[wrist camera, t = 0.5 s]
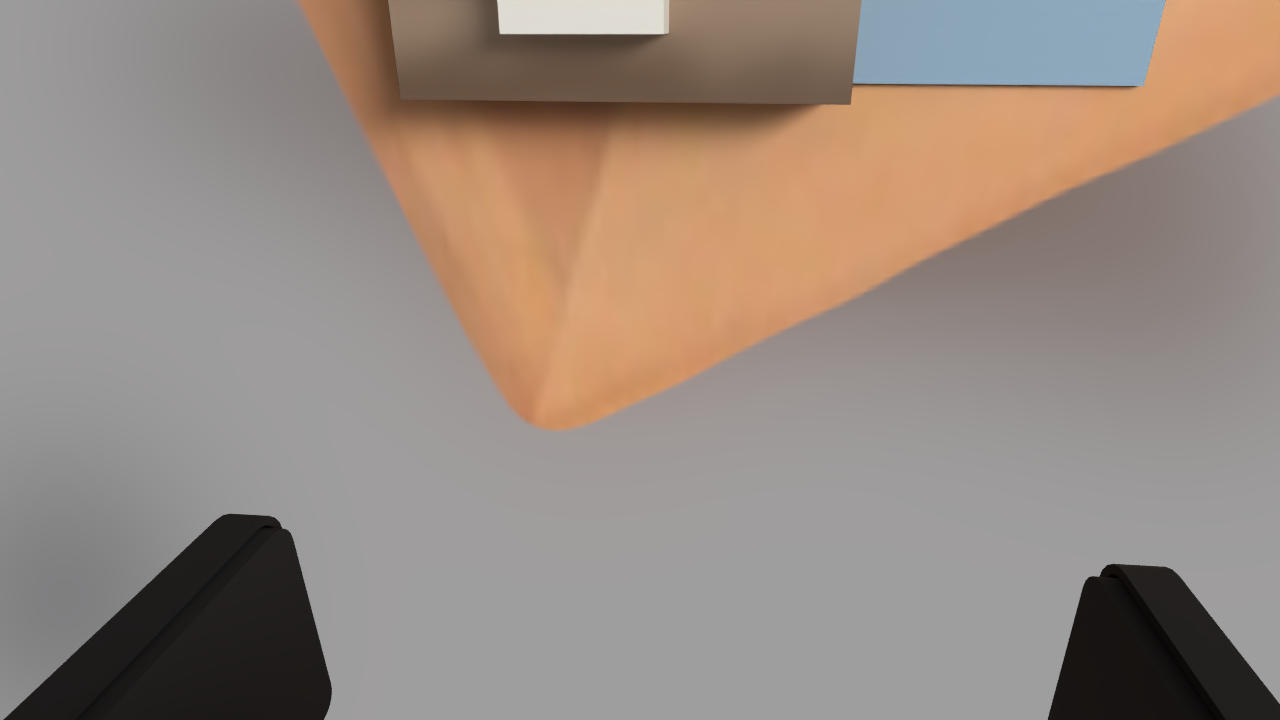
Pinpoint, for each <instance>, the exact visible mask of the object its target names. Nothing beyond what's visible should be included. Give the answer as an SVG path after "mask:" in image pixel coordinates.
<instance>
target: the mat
mask: <svg viewBox="0 0 1280 720" xmlns="http://www.w3.org/2000/svg"><path fill="white" fill-rule="evenodd" d="M1165 1H1166V0H862V2H861V11H860V20H859V30H858V39H857V48H856V57H855V67H854V76H853V83H857V84H980V85H1104V86H1144V83H1145V79H1146V75H1147V71H1148V67H1149V63H1150V59H1151V55H1152V51H1153V48H1154V44H1155V40H1156V36H1157V32H1158V28H1159V24H1160V20H1161V17H1162V13H1163V9H1164V5H1165Z"/></svg>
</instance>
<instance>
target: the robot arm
mask: <svg viewBox="0 0 1280 720" xmlns="http://www.w3.org/2000/svg"><path fill="white" fill-rule="evenodd" d="M331 695H332V688H331V682H330V678H329V675H328V671H327V667H326V663H325V659H324V655H323V652H322V648H321V644H320V640H319V636H318V632H317V629H316V625H315V621H314V617H313V614H312V609H311V606H310V602H309V598H308V594H307V590H306V587H305V583H304V580H303V575H302V571H301V567H300V564H299V560H298V556H297V552H296V548H295V545H294V541H293V538H292V535H291V533H290V532H289V531H288V530H286V529H282V527H281V525H280V522H279V521H278V520H277V519H276V518H274V517H271V516H260V515H242V514H227V515H223V516H221V517H220V518H218V519H217V520H216V521H214V522H213V523H212V524H211V525H210V526H209V527H208V528H207V529H206V530H205V531H204V532H203V533H202V534H201V535H200V536H198V538H196V539H195V540H194V541H193V542H192V543H191V544H190V545H189V546H188V547H187V548H186V549H185V550H184V551H183V552H181V553H180V554H179V555H178V556H177V557H176V558H175V559H174V560H173V561H172V562H171V563H170V564H169V565H168V566H167V567H166V568H165V569H163V570H162V571H161V572H160V573H159V574H158V575H157V576H156V577H155V578H154V579H153V580H152V581H151V582H150V583H148V584H147V585H146V586H145V587H144V588H143V589H142V590H141V591H140V592H139V593H138V594H137V595H136V596H135V597H134V598H133V599H132V600H131V601H129V602H128V603H127V604H126V605H125V606H124V607H123V608H122V609H121V610H120V611H119V612H118V613H117V614H116V615H115V616H113V617H112V618H111V619H110V620H109V621H108V622H107V623H106V624H105V625H104V626H103V627H102V628H101V629H100V630H98V631H97V632H96V633H95V634H94V635H93V636H92V637H91V638H90V639H89V640H88V641H87V642H86V643H85V644H84V645H83V646H81V647H80V648H79V649H78V650H77V651H76V652H75V653H74V654H73V655H72V656H71V657H70V658H69V659H68V660H67V661H66V662H64V663H63V665H61V666H60V667H59V668H58V669H57V670H56V671H55V672H54V673H53V674H52V675H51V676H50V677H49V678H48V679H46V680H45V681H44V682H43V683H42V684H41V685H40V686H39V687H38V688H37V689H36V690H35V691H34V692H33V693H31V695H29V696H28V697H27V698H26V699H25V700H24V701H23V702H22V703H21V704H20V705H19V706H18V707H17V708H16V709H15V710H13V711H12V712H11V713H10V714H9V715H8V716H7V717H6V718H5V719H4V720H324V718H325V716H326V714H327V712H328V709H329V706H330V701H331ZM1048 720H1280V704H1279V703H1278V702H1277V700H1276V699H1275V698H1274V696H1273V695H1272V694H1271V692H1270V691H1269V690H1268V689H1267V687H1266V686H1265V685H1264V684H1263V682H1262V681H1261V680H1260V679H1259V677H1258V676H1257V675H1256V673H1255V672H1254V671H1253V669H1252V668H1251V667H1250V666H1249V664H1248V663H1247V662H1246V661H1245V660H1244V658H1243V657H1242V656H1241V654H1240V653H1239V652H1238V651H1237V649H1236V648H1235V647H1234V645H1233V644H1232V643H1231V641H1230V640H1229V639H1228V638H1227V636H1226V635H1225V634H1224V633H1223V631H1222V630H1221V629H1220V627H1219V626H1218V625H1217V624H1216V622H1215V621H1214V620H1213V618H1212V617H1211V616H1210V615H1209V614H1208V612H1207V611H1206V610H1205V608H1204V607H1203V606H1202V604H1201V603H1200V602H1199V601H1198V599H1197V598H1196V597H1195V595H1194V594H1193V593H1192V592H1191V590H1190V589H1189V588H1188V587H1187V585H1186V584H1185V583H1184V581H1183V580H1182V579H1181V578H1180V576H1179V575H1178V574H1177V573H1175V572H1174V571H1173V570H1172V569H1170V568H1167V567H1158V566H1140V565H1123V564H1111V565H1107V566H1106V567H1105V568H1104V569H1103V570H1102V572H1101V575H1100V577H1095V576H1094V577H1093V576H1092V577H1089V578H1088V579H1087V580H1086V581H1085V584H1084V586H1083V590H1082V593H1081V597H1080V601H1079V604H1078V608H1077V612H1076V615H1075V619H1074V623H1073V627H1072V630H1071V634H1070V638H1069V642H1068V646H1067V649H1066V653H1065V657H1064V661H1063V664H1062V668H1061V672H1060V675H1059V680H1058V683H1057V687H1056V691H1055V694H1054V698H1053V702H1052V705H1051V709H1050V713H1049V717H1048Z"/></svg>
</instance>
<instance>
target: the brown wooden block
mask: <svg viewBox="0 0 1280 720" xmlns="http://www.w3.org/2000/svg"><path fill="white" fill-rule="evenodd" d="M861 2H862V0H669V33H667V34H500V31H499V17H498V3H497V0H388V4H389V12H390V20H391V28H392V36H393V44H394V51H395V59H396V67H397V75H398V83H399V91H400V99H401V100H482V101H571V102H659V103H748V104H837V105H850V104H851V95H852V85H853V76H854V67H855V57H856V48H857V39H858V30H859V20H860V11H861Z"/></svg>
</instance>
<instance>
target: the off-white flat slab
mask: <svg viewBox="0 0 1280 720" xmlns="http://www.w3.org/2000/svg"><path fill="white" fill-rule="evenodd" d="M497 3H498V17H499V31H500V34H667V33H669V0H497Z"/></svg>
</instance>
